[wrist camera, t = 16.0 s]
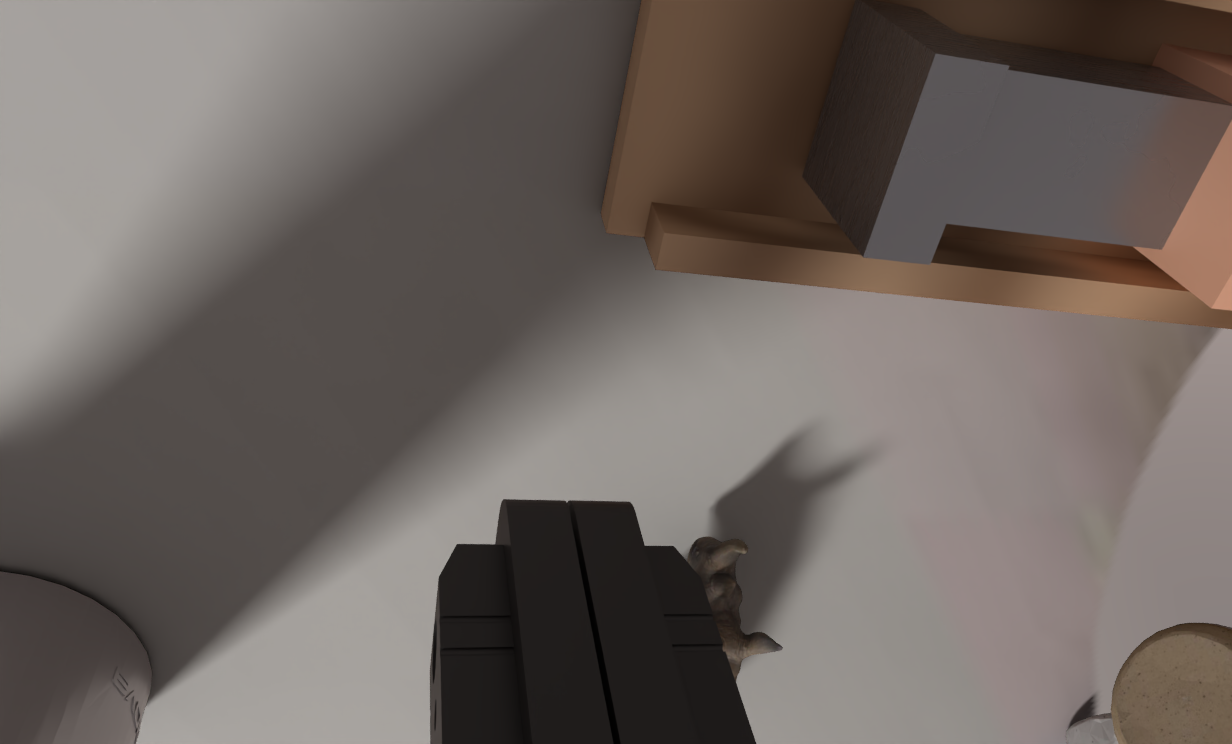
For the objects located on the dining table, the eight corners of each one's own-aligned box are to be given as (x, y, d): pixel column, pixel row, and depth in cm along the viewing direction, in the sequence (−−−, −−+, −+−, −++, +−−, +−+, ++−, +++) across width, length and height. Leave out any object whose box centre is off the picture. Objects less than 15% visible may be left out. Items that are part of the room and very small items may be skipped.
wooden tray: (600, 213, 26) (646, 370, 20) (671, -161, 21) (761, -109, 15) (1224, 285, 30) (1422, 432, 24) (1399, -14, 26) (1702, 74, 19)
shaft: (801, 176, 25) (863, 257, 21) (856, -3, 22) (936, 53, 19) (1089, 213, 26) (1192, 294, 23) (1166, 51, 24) (1295, 112, 20)
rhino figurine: (784, 494, 33) (842, 631, 28) (641, 744, 40) (668, 889, 35) (674, 472, 32) (715, 611, 27) (545, 733, 39) (559, 883, 34)
